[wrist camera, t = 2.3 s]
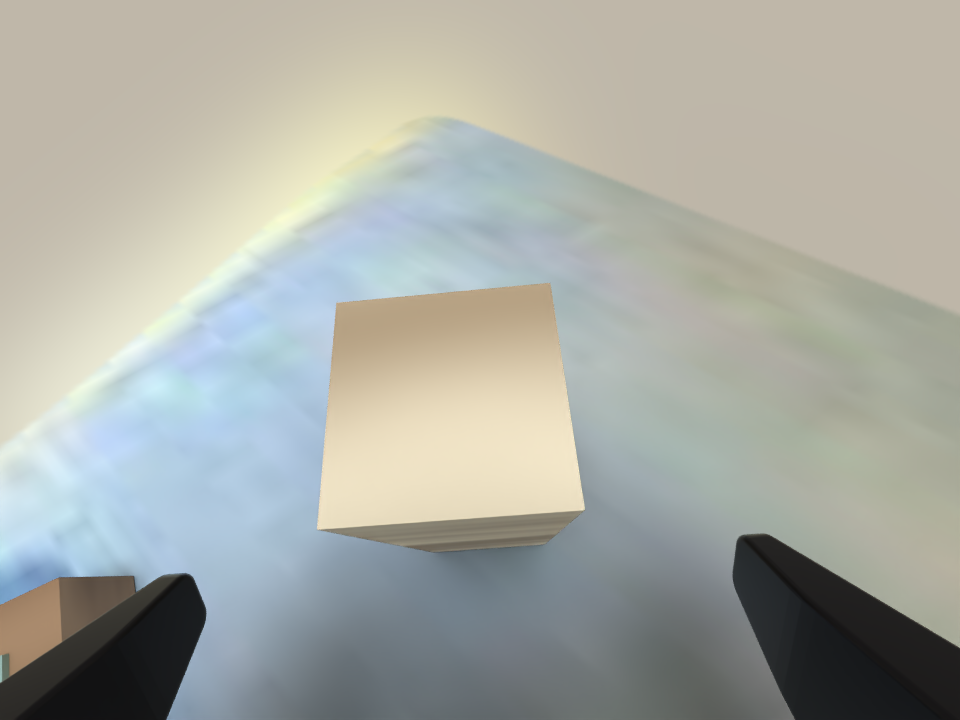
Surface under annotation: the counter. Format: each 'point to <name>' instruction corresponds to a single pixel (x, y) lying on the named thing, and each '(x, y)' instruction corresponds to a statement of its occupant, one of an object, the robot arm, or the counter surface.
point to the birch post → (449, 422)
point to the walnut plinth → (54, 615)
